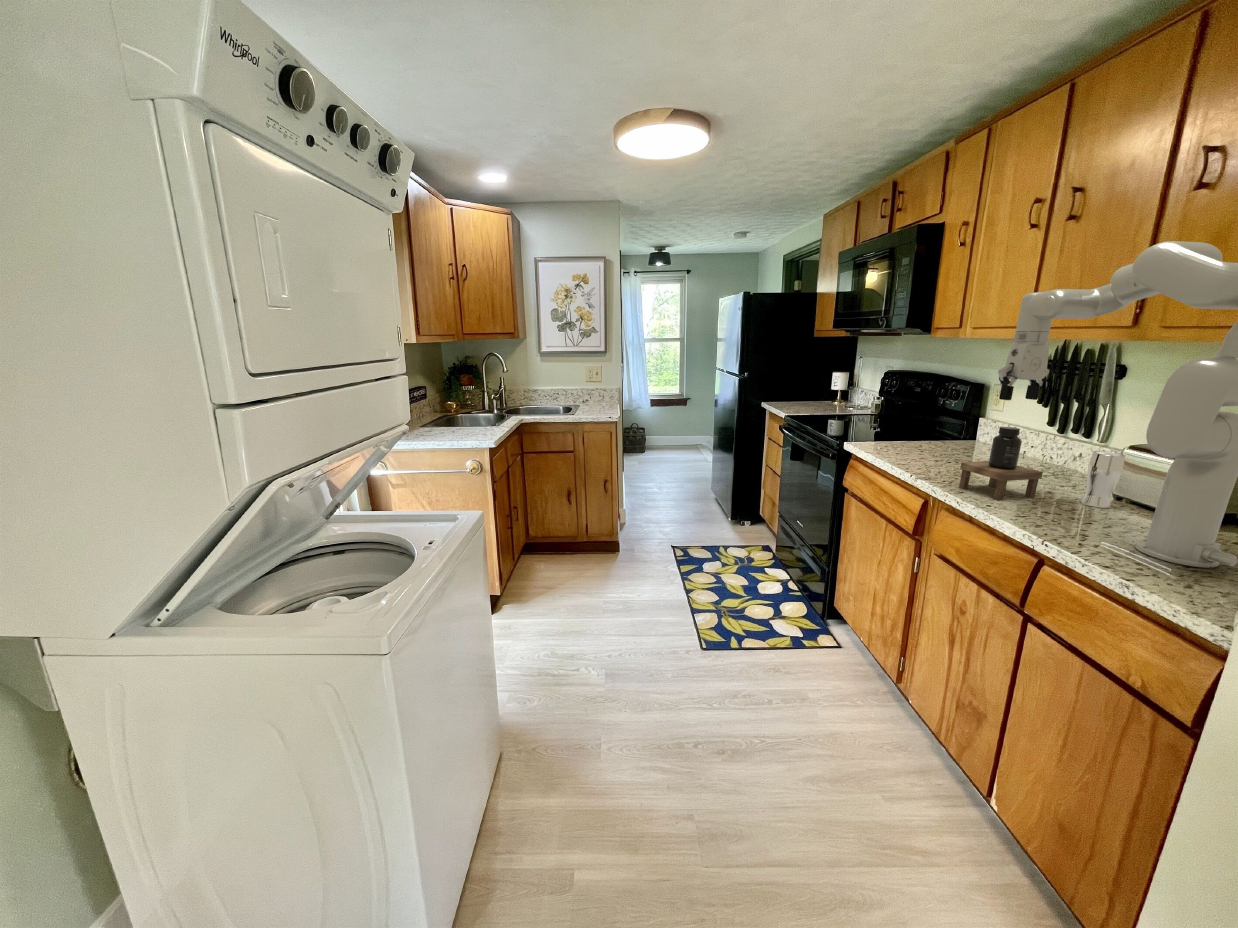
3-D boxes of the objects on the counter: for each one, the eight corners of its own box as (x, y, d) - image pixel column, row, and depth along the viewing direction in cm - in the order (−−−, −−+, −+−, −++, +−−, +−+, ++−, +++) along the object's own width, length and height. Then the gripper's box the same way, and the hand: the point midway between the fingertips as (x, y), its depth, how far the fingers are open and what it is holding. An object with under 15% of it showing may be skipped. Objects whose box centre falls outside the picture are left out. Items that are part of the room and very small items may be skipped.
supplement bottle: (1017, 467, 150) (1026, 428, 147) (1014, 471, 146) (1023, 431, 142) (989, 463, 155) (997, 425, 152) (985, 467, 150) (994, 427, 147)
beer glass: (1119, 508, 139) (1134, 456, 135) (1093, 508, 139) (1108, 456, 135) (1096, 500, 146) (1110, 450, 142) (1072, 500, 146) (1085, 450, 142)
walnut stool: (1036, 498, 147) (1042, 472, 145) (998, 501, 144) (1004, 474, 142) (992, 484, 161) (997, 460, 159) (956, 487, 157) (961, 462, 155)
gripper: (1020, 338, 135) (1007, 401, 139) (1068, 339, 139) (1054, 400, 143) (993, 338, 142) (982, 398, 146) (1040, 339, 146) (1028, 397, 150)
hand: (1018, 399), depth 145 cm, fingers open, 9 cm apart
